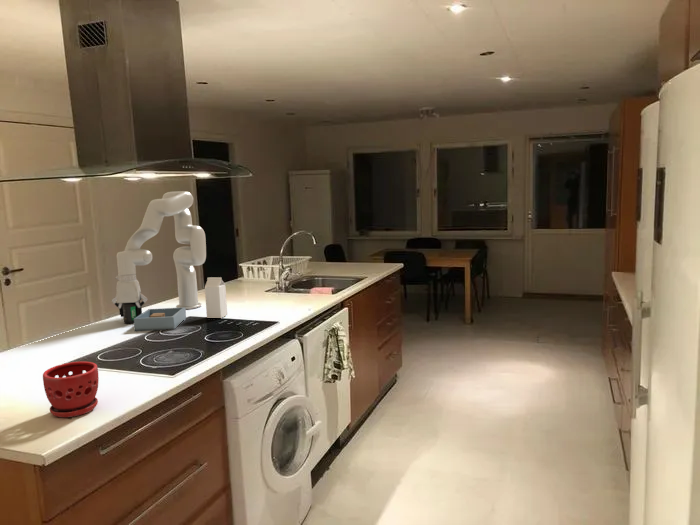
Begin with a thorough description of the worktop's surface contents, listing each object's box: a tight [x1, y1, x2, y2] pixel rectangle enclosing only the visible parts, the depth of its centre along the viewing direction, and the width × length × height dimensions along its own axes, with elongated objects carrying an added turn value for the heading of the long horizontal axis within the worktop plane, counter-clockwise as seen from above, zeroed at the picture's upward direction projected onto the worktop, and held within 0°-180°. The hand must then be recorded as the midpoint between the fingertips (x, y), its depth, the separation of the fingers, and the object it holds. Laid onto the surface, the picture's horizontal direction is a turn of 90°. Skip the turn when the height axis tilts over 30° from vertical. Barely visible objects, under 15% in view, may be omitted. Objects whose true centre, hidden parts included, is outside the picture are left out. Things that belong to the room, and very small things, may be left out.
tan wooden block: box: [150, 313, 165, 318], centre depth 238 cm, size 5×5×5 cm
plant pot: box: [42, 361, 100, 418], centre depth 144 cm, size 13×13×12 cm
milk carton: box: [204, 276, 228, 319], centre depth 252 cm, size 7×7×19 cm
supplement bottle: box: [122, 303, 138, 325], centre depth 249 cm, size 7×7×12 cm
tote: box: [133, 307, 187, 332], centre depth 242 cm, size 20×17×6 cm
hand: (131, 315), depth 250 cm, fingers closed on supplement bottle, 6 cm apart
